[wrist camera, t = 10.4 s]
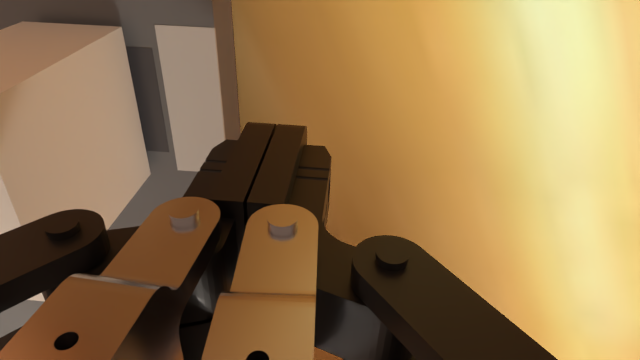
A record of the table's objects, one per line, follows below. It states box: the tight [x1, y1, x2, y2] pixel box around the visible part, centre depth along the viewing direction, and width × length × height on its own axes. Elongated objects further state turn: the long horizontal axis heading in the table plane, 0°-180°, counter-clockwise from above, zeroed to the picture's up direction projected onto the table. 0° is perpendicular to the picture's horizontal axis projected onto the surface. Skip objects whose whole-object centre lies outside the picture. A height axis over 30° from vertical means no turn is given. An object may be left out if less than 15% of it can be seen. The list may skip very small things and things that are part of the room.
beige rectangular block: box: [0, 21, 151, 301], centre depth 12 cm, size 3×5×6 cm, turn 179°
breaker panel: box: [0, 0, 241, 338], centre depth 21 cm, size 20×24×2 cm
